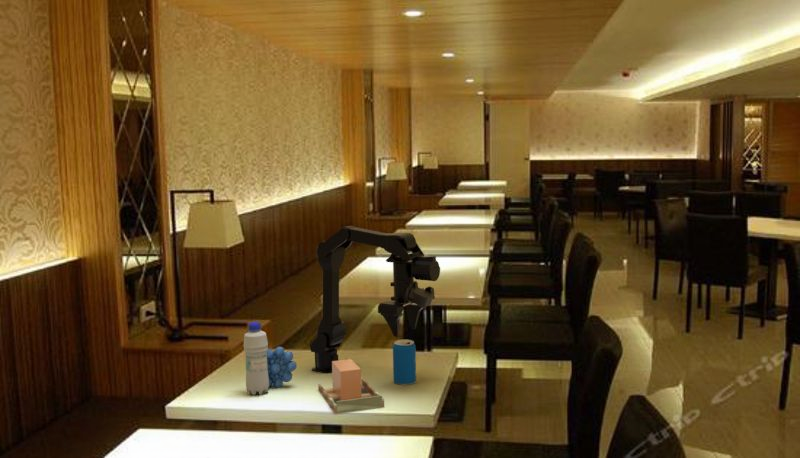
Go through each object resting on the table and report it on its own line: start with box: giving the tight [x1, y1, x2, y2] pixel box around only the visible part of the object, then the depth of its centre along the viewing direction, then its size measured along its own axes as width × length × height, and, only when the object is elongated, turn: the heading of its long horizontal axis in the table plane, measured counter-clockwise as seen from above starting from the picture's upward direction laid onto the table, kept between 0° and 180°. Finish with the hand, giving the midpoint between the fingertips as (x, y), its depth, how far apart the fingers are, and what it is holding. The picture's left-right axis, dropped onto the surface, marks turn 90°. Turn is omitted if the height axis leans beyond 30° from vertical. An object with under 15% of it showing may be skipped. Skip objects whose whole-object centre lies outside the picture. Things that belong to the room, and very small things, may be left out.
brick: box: [331, 358, 362, 401], centre depth 205 cm, size 10×6×8 cm, turn 18°
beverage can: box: [392, 339, 417, 386], centre depth 214 cm, size 6×6×12 cm
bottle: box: [243, 321, 270, 396], centre depth 209 cm, size 7×7×20 cm
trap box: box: [317, 377, 385, 415], centre depth 202 cm, size 20×13×4 cm, turn 18°
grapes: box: [267, 346, 297, 389], centre depth 214 cm, size 12×7×12 cm, turn 87°
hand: (404, 332), depth 213 cm, fingers open, 9 cm apart
